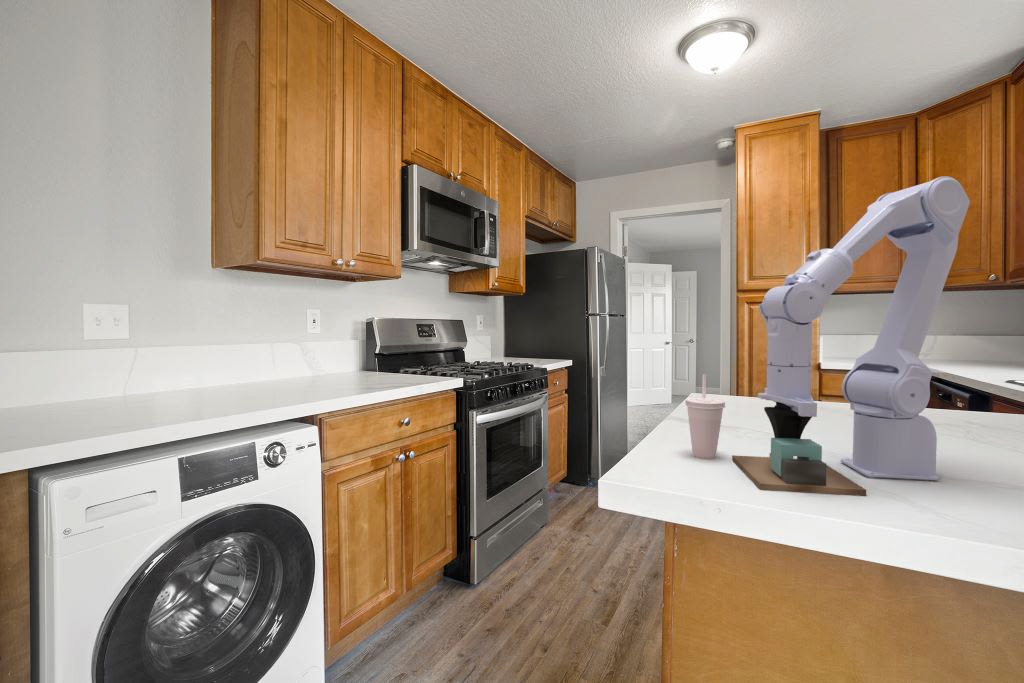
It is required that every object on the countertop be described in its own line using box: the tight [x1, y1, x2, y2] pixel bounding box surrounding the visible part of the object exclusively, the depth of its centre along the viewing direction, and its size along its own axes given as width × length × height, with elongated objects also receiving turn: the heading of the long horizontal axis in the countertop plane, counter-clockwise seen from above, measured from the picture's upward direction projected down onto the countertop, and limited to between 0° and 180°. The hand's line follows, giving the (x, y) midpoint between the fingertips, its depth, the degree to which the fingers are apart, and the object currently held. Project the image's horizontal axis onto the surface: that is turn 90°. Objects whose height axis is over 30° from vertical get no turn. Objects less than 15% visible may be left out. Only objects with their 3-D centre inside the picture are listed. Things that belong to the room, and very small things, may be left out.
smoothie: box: [684, 374, 726, 460], centre depth 80 cm, size 6×6×14 cm
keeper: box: [770, 437, 823, 477], centre depth 67 cm, size 5×4×5 cm
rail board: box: [731, 452, 867, 497], centre depth 70 cm, size 13×14×4 cm
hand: (786, 455), depth 70 cm, fingers closed
